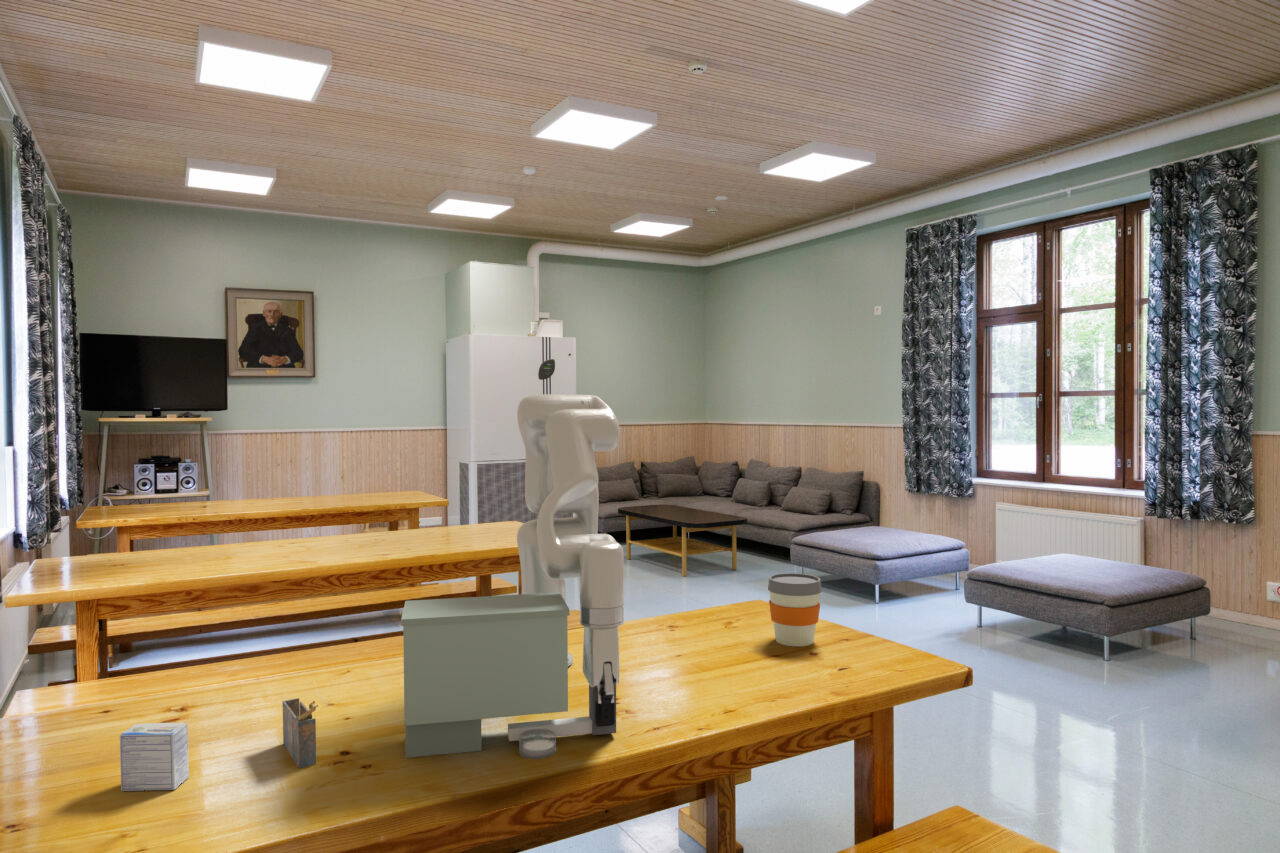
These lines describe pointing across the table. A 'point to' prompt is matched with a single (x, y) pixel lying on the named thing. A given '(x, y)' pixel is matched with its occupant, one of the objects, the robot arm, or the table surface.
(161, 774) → the medicine box
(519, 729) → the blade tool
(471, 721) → the cabinet
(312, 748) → the weathered grey open box
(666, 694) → the table surface
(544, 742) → the steel token
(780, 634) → the reusable coffee cup
